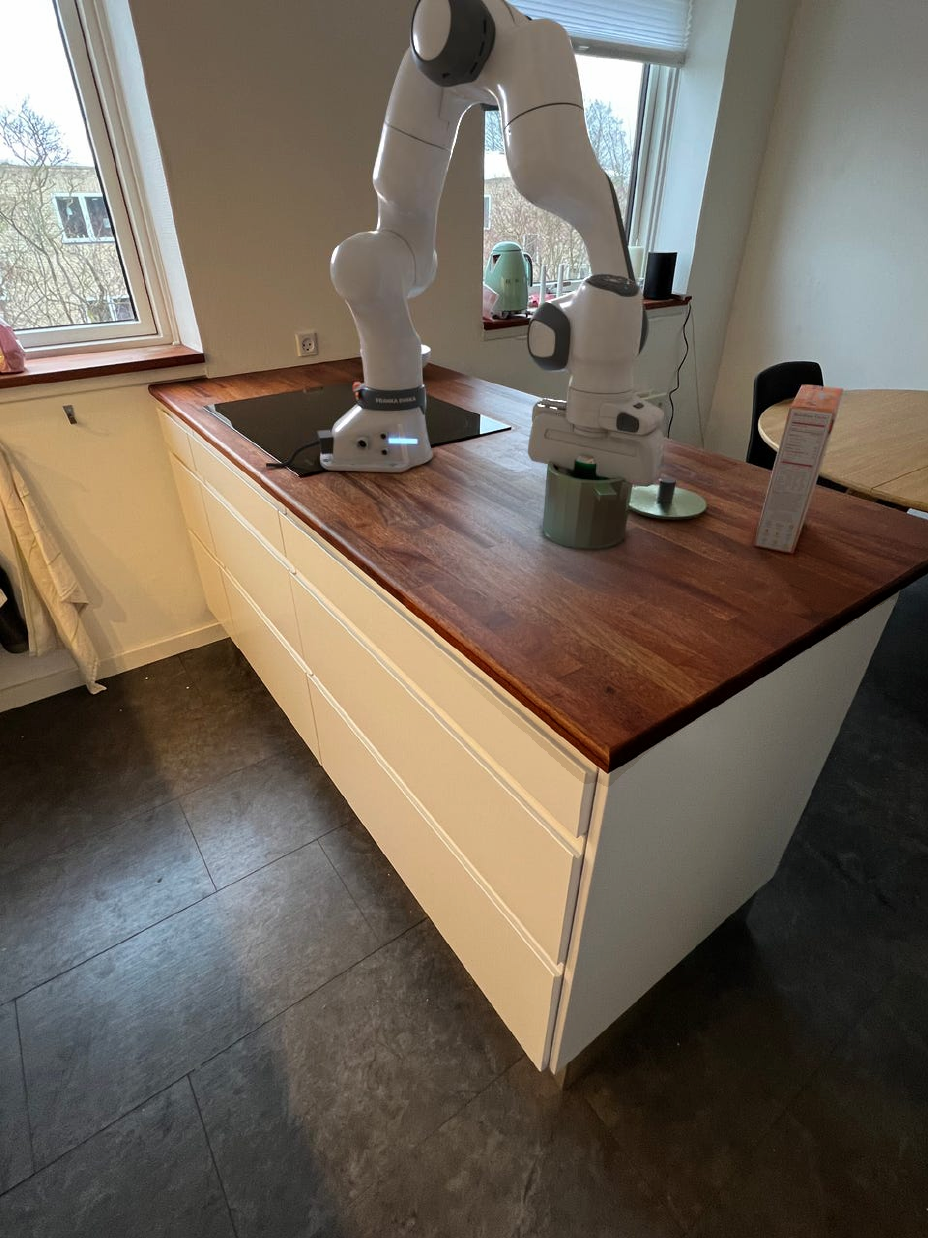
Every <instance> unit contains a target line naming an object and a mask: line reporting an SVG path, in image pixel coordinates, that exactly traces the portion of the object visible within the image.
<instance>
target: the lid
mask: <svg viewBox="0 0 928 1238" xmlns="http://www.w3.org/2000/svg"><path fill="white" fill-rule="evenodd" d="M676 485H677V480H676V478H673V477H668V476H664V477H661V478H659V483H658V484H651V485H650V486H648V487H643V486H639V485H637V486H635V487H634V486H633V487H632V492H631V498H630V504H629V510H630V511H633V512H634V513H637V514H640V515H642V516H646V517H650V518H655V519H658V520H659V519H660V520H667V521H668V520H669V521H675V520H676V521H680V520H682V521H683V520H689V519H694V518H697V517H700V516H702V514H704V513H705V511H706V510H707V502H706V500H705V499H704V498H703V497H702V496H701V495H699V494H697V493H695V492H693V491H690V490H688V489H684V488H681V487H677V486H676Z"/></svg>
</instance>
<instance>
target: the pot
mask: <svg viewBox="0 0 928 1238" xmlns="http://www.w3.org/2000/svg"><path fill="white" fill-rule="evenodd" d="M572 471H573V470H572ZM572 471H570V472H569V474H570V476H567V475H564V474H561V473H560V472H558V467H557V466H554V462H550V461H549V462H548V464H547V467H546V477H545V479H546V480H545V490H544V491H545V493H544V503H543V518H542V532H543V534H544V535H545V537H546V538H548V539H549V540H550V541H551V542H553V543H556V544H558V545H560V546H563V547H568V548H571V549H578V550H602V549H603V550H604V549H607V548H611V547H614V546H617V545H618V544H620V543H621V542H622V541H623V540H624V538H625V534H626V529H627V523H628V516H629V511H630V509H629V504H630V498H631V492H632V488H633V485H634V484H631V483H626V482H625V479H624V478H616V479H610V480H609V478H606V480H585V479H578V478H573V477H572Z"/></svg>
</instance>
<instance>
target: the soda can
mask: <svg viewBox="0 0 928 1238" xmlns="http://www.w3.org/2000/svg"><path fill="white" fill-rule="evenodd" d="M593 458H594V457H593V456H586V455H582V454H579V457H578V458H576V459H575V461H574V469H573V471H572V477H573V478H578V479H585V480H606V478H604V477H600V476H597V475H596V466H597V464H596V463H595V461H594V460H593Z"/></svg>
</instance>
